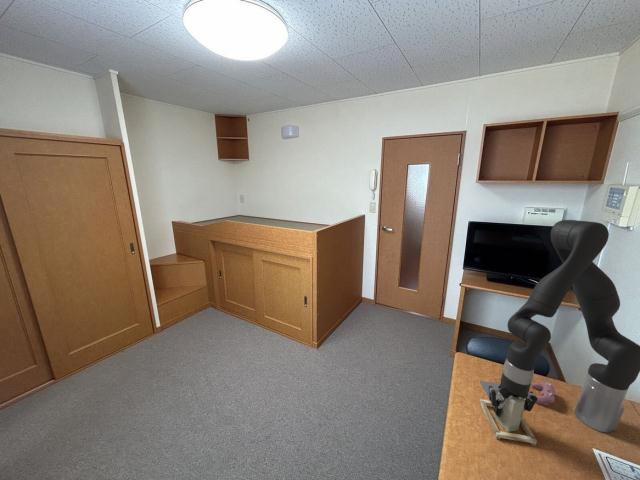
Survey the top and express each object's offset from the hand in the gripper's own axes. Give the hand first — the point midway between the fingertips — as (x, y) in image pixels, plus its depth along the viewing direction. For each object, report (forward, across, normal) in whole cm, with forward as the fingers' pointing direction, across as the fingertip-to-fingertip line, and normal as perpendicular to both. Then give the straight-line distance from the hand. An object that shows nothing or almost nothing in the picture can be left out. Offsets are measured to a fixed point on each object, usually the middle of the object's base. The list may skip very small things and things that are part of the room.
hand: (506, 415), depth 88 cm
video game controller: (+3, -19, -14) cm, 24 cm away
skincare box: (+3, 0, 0) cm, 3 cm away
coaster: (+3, -4, -13) cm, 14 cm away
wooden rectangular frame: (+3, 0, 0) cm, 3 cm away
